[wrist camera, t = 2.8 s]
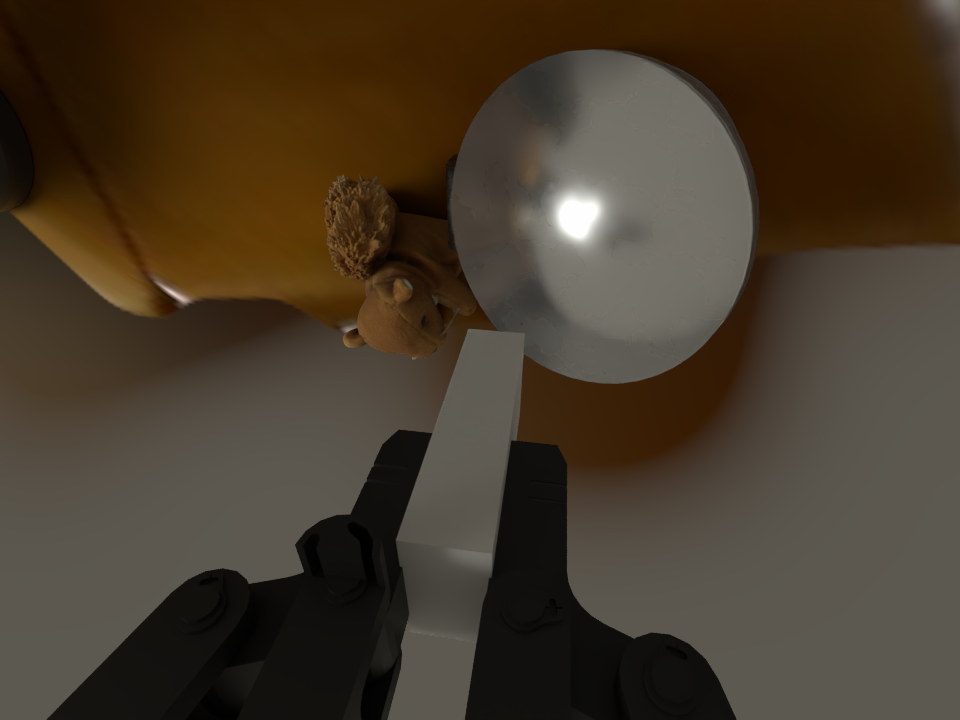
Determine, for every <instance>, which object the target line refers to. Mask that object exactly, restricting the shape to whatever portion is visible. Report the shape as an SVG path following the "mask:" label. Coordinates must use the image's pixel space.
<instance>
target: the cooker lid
mask: <svg viewBox="0 0 960 720" xmlns="http://www.w3.org/2000/svg"><path fill="white" fill-rule="evenodd" d="M445 166H446V193H447V221H448V247H449V249H451V250H455V251H457V253H458V256H459V260H460V263H461V266H462V269H463V272H464V274H465V277H466V279H467V282H468V284H469V286H470V288H471V290H472V292H473V294H474V296H475V298H476V299H477V301H478V303H479V304H480V306H481V308H482V309H483V311H484V312H485V313H486V315H487V316H488V318H489V319H490V320H491V322H492V323H493V324H494V325H495V326H496V327H497V329H498V330H499V331H501V332H514V333H525V336H524V351H523V353H524V354H525V355H527V356H528V357H530V358H531V359H533V360H534V361H536V362H538V363H539V364H541V365H543V366H545V367H547V368H549V369H551V370H553V371H555V372H557V373H560V374H563V375H565V376H568V377H571V378H575V379H579V380H583V381H588V382H596V383H626V382H633V381H639V380H642V379H646V378H649V377H653V376H656V375H659V374H661V373H663V372H665V371H667V370H669V369H672V368H674V367H675V366H677V365H678V364H680V363H681V362H683V361H684V360H686V359H687V358H689V357H690V356H692V355H693V354H694V353H695V352H696V351H697V350H698V349H699V348H701V347H702V346H703V345H704V344H705V343H706V342H707V341H708V340H709V338H710V337H711V336H712V335H713V333H714V332H715V331H716V330H717V329H718V327H719V326H720V325H721V324H722V323H723V321H724V320H725V319H726V318H727V316H728V315H729V314H730V312H731V311H732V309H733V307H734V306H735V304H736V303H737V301H738V299H739V298H740V296H741V294H742V292H743V290H744V287H745V285H746V283H747V280H748V278H749V276H750V273H751V270H752V265H753V261H754V258H755V254H756V251H757V243H758V234H759V225H760V222H759V197H758V192H757V186H756V181H755V176H754V171H753V168H752V165H751V162H750V159H749V157H748V154H747V151H746V148H745V145H744V144H743V142H742V140H741V138H740V136H739V134H738V132H737V130H736V128H735V126H734V125H733V123H732V121H731V120H730V119H729V117H728V116H727V115H726V113H725V112H724V110H723V109H722V108H721V106H720V105H719V104H718V102H717V101H716V100H715V99H714V98H713V97H712V96H711V95H710V94H709V93H708V92H707V91H706V90H705V89H704V88H703V87H702V86H701V85H699V84H698V83H697V82H696V81H694V80H693V79H692V78H690V77H689V76H687V75H686V74H684V73H683V72H681V71H680V70H679V69H677V68H675V67H673V66H671V65H669V64H667V63H665V62H662V61H660V60H658V59H656V58H654V57H650V56H646V55H643V54H639V53H636V52H632V51H622V50H612V49H597V50H579V51H568V52H564V53H560V54H556V55H552V56H548V57H546V58H543V59H541V60H539V61H536V62H534V63H532V64H529V65H528V66H526V67H524V68H523V69H521V70H520V71H518V72H517V73H515V74H514V75H512V76H511V77H509V78H508V79H507V80H506V81H505V82H504V83H503V84H501V85H500V86H499V87H498V88H497V89H496V90H495V91H494V92H493V93H492V94H491V96H490V97H489V98H488V99H487V100H486V102H485V103H484V104H483V105H482V107H481V108H480V110H479V111H478V113H477V114H476V116H475V118H474V119H473V121H472V123H471V125H470V127H469V129H468V131H467V133H466V135H465V137H464V140H463V142H462V145H461V148H460V151H459V154H458V157H457V162H452V163H447V164H446V165H445Z"/></svg>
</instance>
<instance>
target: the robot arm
mask: <svg viewBox="0 0 960 720" xmlns="http://www.w3.org/2000/svg"><path fill="white" fill-rule="evenodd" d="M32 181H33V164H32V157H31V153H30V149H29V146H28V142H27V140H26V137H25V134H24V132H23V130H22V127H21V125H20V123H19V121H18V119H17V118H16V116H15V114H14V112H13V110H12V109H11V107H10V106H9V104H8V103H7V101H6V100H5V98H4V97H3V95H2V94H1V92H0V212H3V211H6V210H10V209H12V208H15V207H16V206H18V205H19V204H21V203H22V202H23V201H24V200H25V199H26V197H27V196H28V194H29V192H30V189H31V186H32ZM524 336H525V333H514V332H501V331H488V330H475V329H468V332H467V335H466V338H465V341H464V344H463V347H462V349H461V352H460V355H459V358H458V361H457V364H456V367H455V370H454V373H453V376H452V379H451V381H450V384H449V387H448V390H447V393H446V396H445V399H444V402H443V405H442V408H441V410H440V413H439V417H438V419H437V422H436V425H435V428H434V431H433V433H425V432H416V431H407V430H398V431H397V432H396V433H395V434H394V435H392V436H391V437H390V438H389V439H388V440H387V441H386V442H385V443H384V444H383V445H382V447H381V449H380V451H379V453H378V455H377V458H376V460H375V462H374V467H372V468H371V471H370V473H369V475H368V477H367V482H366V483H365V484H364V486H363V488H362V490H361V493H360V495H359V497H358V499H357V501H356V504H355V506H354V508H353V510H352V512H351V514H350V515H336V516H333V517H330V518H327V519H324V520H321V521H319V522H318V523H317V524H315V525H314V526H312V527H311V528H310V529H308V530H307V531H305V533H304V534H303V535H302V537H301V538H300V539H299V540H298V542H297V543H296V544H295V546H296V549H297V552H298V555H299V558H300V561H301V564H302V566H303V569H304V572H303V573H301V574H298V575H294V576H291V577H287V578H281V579H276V580H270V581H264V582H259V583H252V584H248V581H247V580H246V579H245V578H244V577H243V576H242V575H241V574H239V573H238V572H237V571H233V570H228V569H223V568H222V569H216V570H211V571H205V572H203V573H201V574H199V575H197V576H195V577H192V578H191V579H188V580H187V581H186V582H184V583H183V584H182V585H181V586H179V587H178V588H177V589H176V590H174V591H173V592H172V593H171V594H170V595H169V596H168V597H167V598H166V599H165V600H164V601H163V602H162V603H161V604H160V605H159V606H158V607H157V608H156V609H155V610H154V611H153V612H152V613H151V614H150V615H149V616H148V617H147V618H146V619H145V620H144V621H143V622H142V623H141V624H140V625H139V626H138V627H137V628H136V629H135V630H134V631H133V632H132V633H131V634H130V635H129V636H128V638H126V639H125V641H124V642H123V643H122V644H121V645H120V646H119V647H118V648H117V649H116V650H115V651H114V652H113V653H112V654H111V655H110V656H109V657H108V658H107V659H106V660H105V661H104V662H103V663H102V664H101V665H100V666H99V667H98V668H97V669H96V670H95V671H94V672H93V673H92V674H91V675H90V676H89V677H88V678H87V679H86V680H85V681H84V682H83V683H82V684H81V685H80V686H79V687H78V688H77V689H76V690H75V691H74V692H73V693H72V694H71V695H70V696H69V697H68V698H67V699H66V700H65V701H64V702H63V703H62V704H61V705H60V706H59V708H57V709H56V711H55V712H54V713H53V714H52V715H51V716H50V717H49V718H48V719H47V720H387V719H388V715H389V711H390V707H391V703H392V700H393V696H394V692H395V688H396V685H397V681H398V677H399V673H400V669H401V659H402V650H401V642H402V639H403V635H404V631H405V628H406V624H407V621H408V623H409V630H410V632H414V633H420V634H426V635H432V636H438V637H445V638H451V639H457V640H464V641H470V642H476V643H477V644H476V651H475V657H474V663H473V670H472V677H471V683H470V689H469V696H468V702H467V709H466V715H465V720H736V717H735V715H734V713H733V711H732V708H731V706H730V704H729V702H728V700H727V697H726V695H725V693H724V691H723V688H722V686H721V684H720V682H719V680H718V678H717V676H716V675H715V673H714V672H713V670H712V668H711V667H710V665H709V664H708V662H707V661H706V659H705V658H704V657H703V656H702V655H701V654H700V653H698V652H697V651H696V650H695V649H694V648H693V647H692V646H691V645H690V644H688V643H686V642H684V641H682V640H680V639H678V638H676V637H674V636H672V635H668V634H660V633H649V634H646V635H643V636H640V637H636V638H635V639H633V638H631V637H630V636H628V635H625V634H624V633H621V632H619V631H617V630H615V629H613V628H611V627H609V626H607V625H605V624H603V623H602V622H600V621H599V620H597V619H596V618H594V617H592V616H591V615H590V614H589V613H588V612H587V611H586V610H584V608H583V607H581V605H580V604H579V602H578V601H577V599H576V598H575V597H574V595H573V593H572V590H571V588H570V585H569V583H568V576H567V463H566V461H565V459H564V457H563V455H562V453H561V452H560V450H559V448H558V446H557V445H550V444H540V443H532V442H523V441H516V437H517V429H518V421H519V414H520V398H521V383H522V366H523V351H524Z"/></svg>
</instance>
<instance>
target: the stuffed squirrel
mask: <svg viewBox="0 0 960 720" xmlns="http://www.w3.org/2000/svg"><path fill="white" fill-rule="evenodd" d="M377 180H378V176H376V177H375V178H373V179H372V180H370V179H367V180H366V181H365V180H363V178H362V177H361V175H360V180H359V183H358V182H355V181H353V180H352V179H350V178H349V177H344V175H342V176H338V180H337V181H333V185H332V186H330V189H328V190H329V195H327V197H326V198H325V199H324V201H325V203H324V206H323V207H324V209H325V215H326V216H325V217H324V218H325V219H324V222H325V223H326V225H327V237H326V238H327V241H328V242H327V243H326V244H327V245H328V246H329V251H330V254H331V255H332V260H331V261H332V262H335V265H334V266H337V268H334V269H335V270H336V271H339V270H341V272H340V274H341V275H344V276H345V277H346V276H348V277H350V278H353V279H354V280H355V279H356V280H358V281H359V282H362V283H365V289H366V296H367V298H366V300H365V302H364V304H363V305H362V307H361V309H360V311H359V315H358V322H357V328H356V329H353V330H350V331H349V332H347V333H346V334H345V335H344V337H343V342H344V344H345V345H346V346H347V347H353V348H356V347H360V346H363V345H365V344H366V343H367V344H369V345H370V346H372V347H373V348H375V349H377V350H380V351H383V352H387V353H393V354H396V353H403V354H407V355H411V356H413V357H412V359H416V358H417V357H419V358H424V357H428V356H430V355H431V354H432V353H434V352H435V351H436V349H437V347H439V346H441V345H443V344H444V342H445V339H446V337H447V331H448V329H449V327H450V326H451V324H452V322H453V319H454V317H455V315H456V314H457V313H459V314H461V315H464V316H469V315H471V314H472V313H474V312H475V310H476V307H477V299H476V298H475V296H474V294H473V292H472V290H471V289H470V288H469V287H468V286H467V285H466V284H464V283H463V282H462V281H461V280H459V279H458V278H457V277H458V275H459V274H460V273H461V272H463V269H462V266H461V263H460V260H459V256H458V253H457V251H455V250H451V249H449V247H448V221H447V220H443V219H438V218H432V217H428V216H422V215H415V214H410V213H401V212H399V208H398V205H397V204H396V202H395V201H394V199H392V197H391V196H389V195H388V193H387V190H386V189H385V188H384V187H382V186H381V185H380V184H379V183H378V182H377ZM437 303H440V304H442V305H444V306H446V307H447V308H449V309H451V310H452V311H453V312H452V317H451V321H450V322H449V324H448V325H447V326H446V328H445V327H444V322H443V319H442V317H441V315H440V313H439V311H438V308H437V306H436V305H437Z"/></svg>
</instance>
